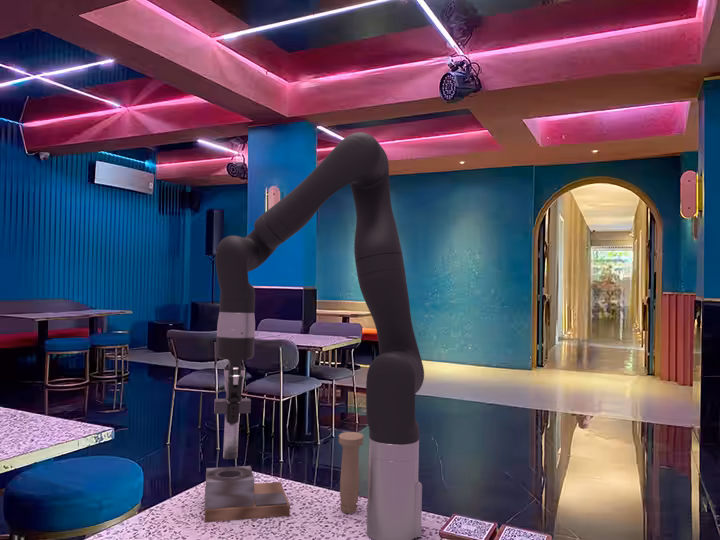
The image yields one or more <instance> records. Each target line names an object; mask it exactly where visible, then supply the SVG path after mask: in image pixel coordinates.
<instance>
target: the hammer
mask: <svg viewBox="0 0 720 540" xmlns="http://www.w3.org/2000/svg"><path fill="white" fill-rule="evenodd" d="M227 407H228V404H227V399H226V398H214V410H213V411H214V412H213V414H214V415H224V430H223V449H222V451H223V452H222V453H223V454H222V458H223V459H224V460H234V459H238V455H239V454H238V451H239V450H238V449H239V428H240V417H239V418H238V422H237V423H228V422H227ZM251 409H252V400H251V398H250V397H247V398H246V397H245V398H242V397H241V402H240V404H239V414H251V412H252V411H251Z"/></svg>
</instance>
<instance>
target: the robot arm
mask: <svg viewBox="0 0 720 540" xmlns="http://www.w3.org/2000/svg"><path fill="white" fill-rule="evenodd" d="M348 185H350V188H351V192H352V197H353V201H354V205H355V206H354V207H355V213H356V214H355V215H356V222H355V231H354V243H353V247H354V248H353V250H354V252H353V254H354V261H355V269H356V274H357V275H356V276H357V279H358V280H357V281H358V284H359V288H360V292H361V294H362V297H363V300H364V302H365V305H366V307H367V309H368V311H369V313H370V315H371V317H372V320H373V323H374V326H375V330H376V335H377V336H376V337H377V341H378V342H377V343H378V352H379V355H377V356H376V357H375V358H374V359H372V361H371V362H370V364H369V367H368V369H367V374H366V381H365V382H366V383H365V394H366V395H365V397H366V398H365V411H366V413H365V416H366V417H365V418H366V422H367V425H368V429H369V433H368V435H369V438H368V471H367V472H368V473H367V506H366V508H367V509H366V534H367V536H368V537H369V538H370V539H372V540H412V539H413V540H415V539H418V538H417V537H421V538H422V508H423V507H422V505H423V504H422V503H423V500H422V499H423V484H422V483H421V482H420V481H419V459H420V458H419V456H420V455H419V453H420V452H419V450H420V449H419V448H420V424H419V423H418V421H417V419H416V394H417V393H418V392H420V391H419V390H421V388H422V386H423V383H424V380H425V369H424V364H423V362H422V357H421V356H422V355H421V353H420V349H419V346H418V343H417V338H416V336H415V331H414V327H413V322H412V316H411V315H412V314H411V306H410V295H409V291H408V285H407V275H406V270H405V269H406V268H405V262H404V261H405V260H404V256H403V250H402V247H401V240H400V237H399V231H398V228H397V224H396V223H397V222H396V220H395V215H394V212H393V207H392V200H391V187H390V163H389V159H388V155H387V152H386V151H385V149H384V148H383V147H382V146H381V144H380V143H379V141H378V140H377V139H376V138H375V137H374V136H372V134H370V133H367V132H363V131H361V132H360V131H359V132H354V133H350V134H349V135H347V136H345V138H343V139H342V140H341V141H340V142H339V143H338V144H337V145H336V146H335V147H334V148H333V149H332V150H331V151H330V152H329V154H328V155H327V156H326V157H325V158H324V159H323V160H322V161H321V163H319V164H318V165H317V167H315V168H314V169H313V170H312V172H310V173H309V174H308V175H307V177H305V178H304V179H303V180H302V181H301V182H300V183H299V184H298V185H297V186H296V187H295V188H294V189H293V190H291V191H290V192H289V193H288V194H287V195H286V196H284V197H283V198H281V199H280V200H279V201H278V202H277V203H275V204H274V205H273V206H271V207H270V208H269V209H268V210H267V211H265V212H264V213H262V214H261V215H260V216H259V217H258V218H257V219H256V220H255V221H254V224H253V227H254V229H252V231H251V232H249V234H248V235H246V236H245V237H242V236H239V235H227V236H226V237H224V238H223V239H221V241H220V242H219V243H218V245H217V248H216V252H215V268H216V274H217V282H218V285H219V286H218V287H219V289H220V294H219V309H218V310H219V312H218V313H219V314H218V317H217V318H218V319H217V328H216V344H215V345H216V346H215V347H216V349H215V357H216V358H217V359H219V360H228V361H227V362H228V363H227V365H228V366H224V367H223V369H224V370H223V375H224V390H225V399H227V404H228V407H227V422H228V423H237V422H238V418H239V419H240V413H239V404H240V402H241V398H242V392H243V390H244V377H245V376H246V375H245V374H246V369H245V367H244V366H242V361H244V360H251V359H253V358H254V356H255V339H256V338H255V337H256V334H255V333H256V319H255V310H256V308H255V307H256V291H255V290H256V289H255V288H254V286H253V285H252V284H250V281H249V273H250V272H251V271H254V270H256V269H258V268H259V267H260V266H261V265H263V264H264V263H265V262H266V261H267V260H268V259H269V258H270V257H271V255H272V254H273V253H274V252H275V251H276V249H277V248H278V247H279V246H280V245H282V244H284V242H286V241H287V240H289V239H290V238H291V237H292V236H294V235H295V234H296V233H298V232H299V231H300V230H302V229H303V228H304V227H305V226H306V225H307V224H308V223H309V221H310V220H311V219H312V218H313V217H314V216H315V215H316V214H317V212H318V211H319V210H320V208H321V207H322V206H323V205H324V204H325V203H326V202H327V200H328V199H330V198H331V197H332V196H333V195H334V194H336V193H337V192H338V191H340V189H342V188H345V187H346V186H348ZM248 272H249V273H248ZM414 538H415V539H414Z"/></svg>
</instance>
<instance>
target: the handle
mask: <svg viewBox="0 0 720 540" xmlns="http://www.w3.org/2000/svg"><path fill="white" fill-rule="evenodd" d="M363 443H364V434H363V433H360V432H355V431H345V432H341V433H339V434H338V444H339V445H341V447H342V455H341V466H340V479H339V498H340V499H339V500H340V510H341V511H342V512H343V514H353V513H356V512H357V510H358V502H359V501H358V500H359V493H360V467H359V466H360V465H359V464H360V463H359V462H360V461H359V460H360V456H359V453H360V452H359V451H360V450H359V449H360V447H361V446H362V445H363Z"/></svg>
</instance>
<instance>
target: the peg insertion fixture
mask: <svg viewBox="0 0 720 540" xmlns="http://www.w3.org/2000/svg"><path fill="white" fill-rule="evenodd" d="M251 466H252V465H247V466H246V465H245V466H243V465H241V466H228V467H226V466H225V467H206V472H205V486H204V523H212V522H222V521H224V522H225V521H236V520H249V519H250V520H251V519H263V518H278V517H277V516H279V517H289V516H291V515H290V511H291V510H290V509H291V508H290V507H291V505H290V502H289V500H288V497H287V494H286V493H285V490H284V488H283V485H282V482H281V481H278V482H274V481H273V482H262V483H261V482H258V483H255V478H254V473H253V470H252V467H251Z"/></svg>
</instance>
